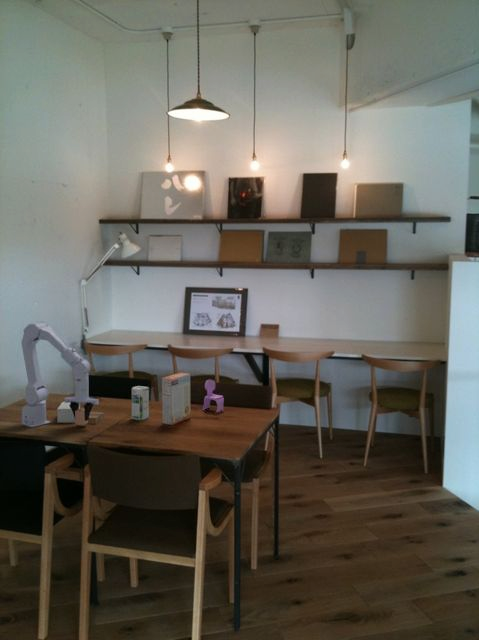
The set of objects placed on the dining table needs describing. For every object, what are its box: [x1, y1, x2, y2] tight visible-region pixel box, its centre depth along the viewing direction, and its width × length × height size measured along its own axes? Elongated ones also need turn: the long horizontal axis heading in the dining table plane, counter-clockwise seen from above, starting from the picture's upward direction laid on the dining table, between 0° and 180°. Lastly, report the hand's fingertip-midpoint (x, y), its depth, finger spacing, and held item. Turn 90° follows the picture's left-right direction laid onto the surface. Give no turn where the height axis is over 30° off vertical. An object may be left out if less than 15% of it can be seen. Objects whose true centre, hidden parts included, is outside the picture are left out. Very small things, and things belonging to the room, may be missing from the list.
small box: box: [56, 401, 81, 424], centre depth 254 cm, size 8×6×13 cm
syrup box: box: [131, 385, 150, 421], centre depth 256 cm, size 6×6×14 cm
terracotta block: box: [74, 408, 89, 426], centre depth 242 cm, size 4×4×6 cm
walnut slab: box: [87, 411, 105, 425], centre depth 252 cm, size 9×9×3 cm
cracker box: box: [161, 372, 191, 426], centre depth 253 cm, size 14×6×21 cm, turn 149°
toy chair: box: [201, 379, 225, 413], centre depth 271 cm, size 8×9×15 cm
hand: (81, 419), depth 243 cm, fingers closed on terracotta block, 4 cm apart
